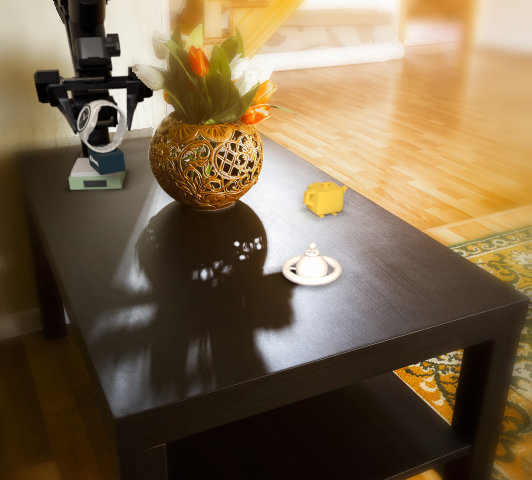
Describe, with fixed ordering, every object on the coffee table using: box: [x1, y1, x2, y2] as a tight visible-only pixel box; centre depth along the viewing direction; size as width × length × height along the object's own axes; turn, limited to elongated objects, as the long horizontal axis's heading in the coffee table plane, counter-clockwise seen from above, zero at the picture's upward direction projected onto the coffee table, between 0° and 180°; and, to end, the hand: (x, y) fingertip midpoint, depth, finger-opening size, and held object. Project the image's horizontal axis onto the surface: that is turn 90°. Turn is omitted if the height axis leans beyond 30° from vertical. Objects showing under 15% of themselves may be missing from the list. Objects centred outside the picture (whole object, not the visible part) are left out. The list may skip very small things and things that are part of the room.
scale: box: [68, 157, 127, 191], centre depth 116 cm, size 9×9×3 cm
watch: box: [76, 100, 128, 175], centre depth 104 cm, size 6×8×11 cm
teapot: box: [302, 181, 348, 218], centre depth 104 cm, size 8×6×5 cm
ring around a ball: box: [281, 242, 343, 287], centre depth 83 cm, size 8×6×8 cm
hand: (102, 131), depth 102 cm, fingers closed on watch, 8 cm apart
